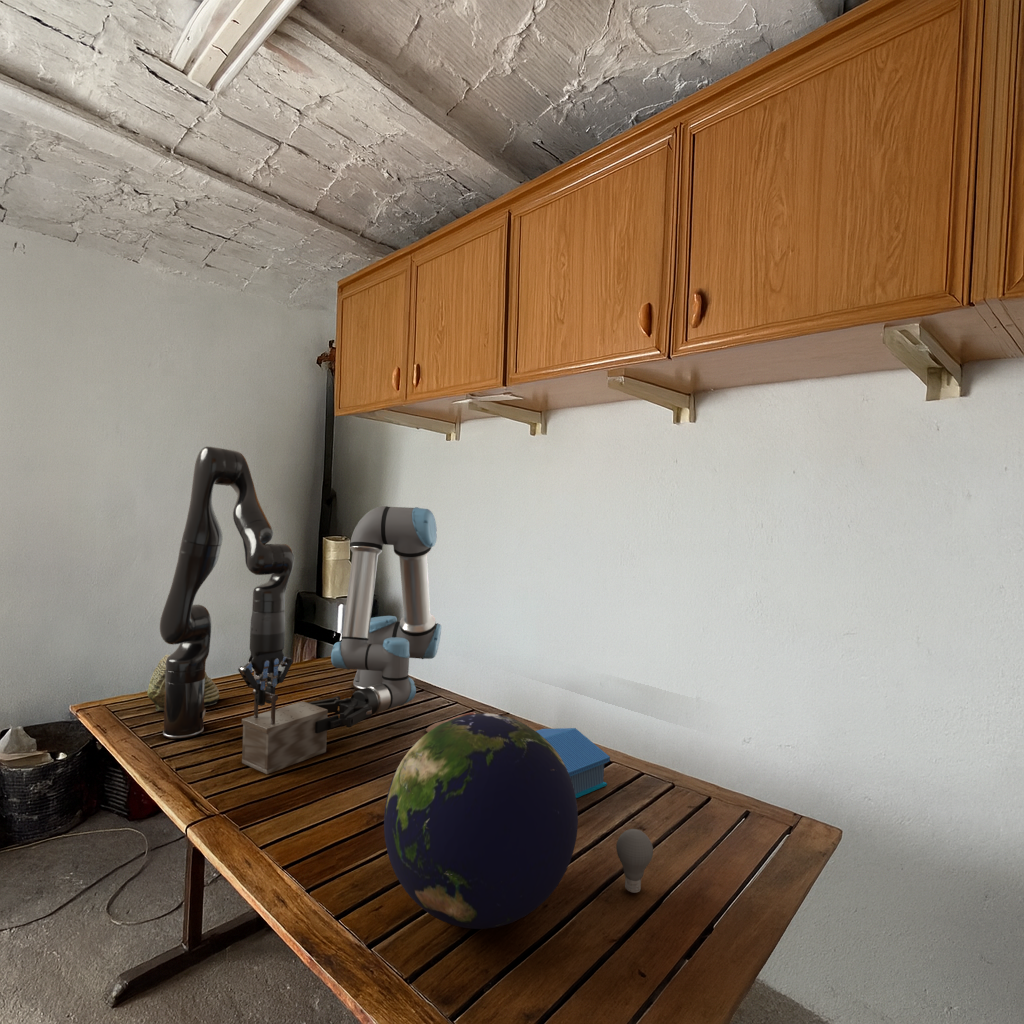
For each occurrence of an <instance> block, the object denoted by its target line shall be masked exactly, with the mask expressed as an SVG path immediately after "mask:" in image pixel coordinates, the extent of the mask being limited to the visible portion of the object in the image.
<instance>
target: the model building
mask: <svg viewBox="0 0 1024 1024" xmlns="http://www.w3.org/2000/svg"><path fill="white" fill-rule="evenodd" d="M535 731H536V732H537V733H539V734H540V735H541V736H542V737H543V738H545V739H546V740H547V741H548V742H549V743H550V745H551V746H552V747H553V748H554V749H555V750H556V751H557V753H558V754H559V756H560V757H561V759H562V761H563V763H564V764H565V766H566V768H567V771H568V773H569V775H570V778H571V781H572V784H573V787H574V791H575V795H576V799H578V798H580V797H582V796H586V795H588V794H591V793H592V792H594V791H597V790H599V789H602V788H604V787H606V786H608V783H607V782H606V781H604V776H605V764H607V763H609V762H611V756H610V755H608V754H607V753H606V752H605V751H604V750H602V749H601V748H600V746H598V745H596V744H595V743H594V742H593V741H592V740H591V739H589V738H588V737H587V736H586V735H584V734H583V733H582V732H581V731H579V730H578V729H577V728H576V727H568V728H567V727H564V728H563V727H562V728H561V727H560V728H541V729H537V730H535Z"/></svg>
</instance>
